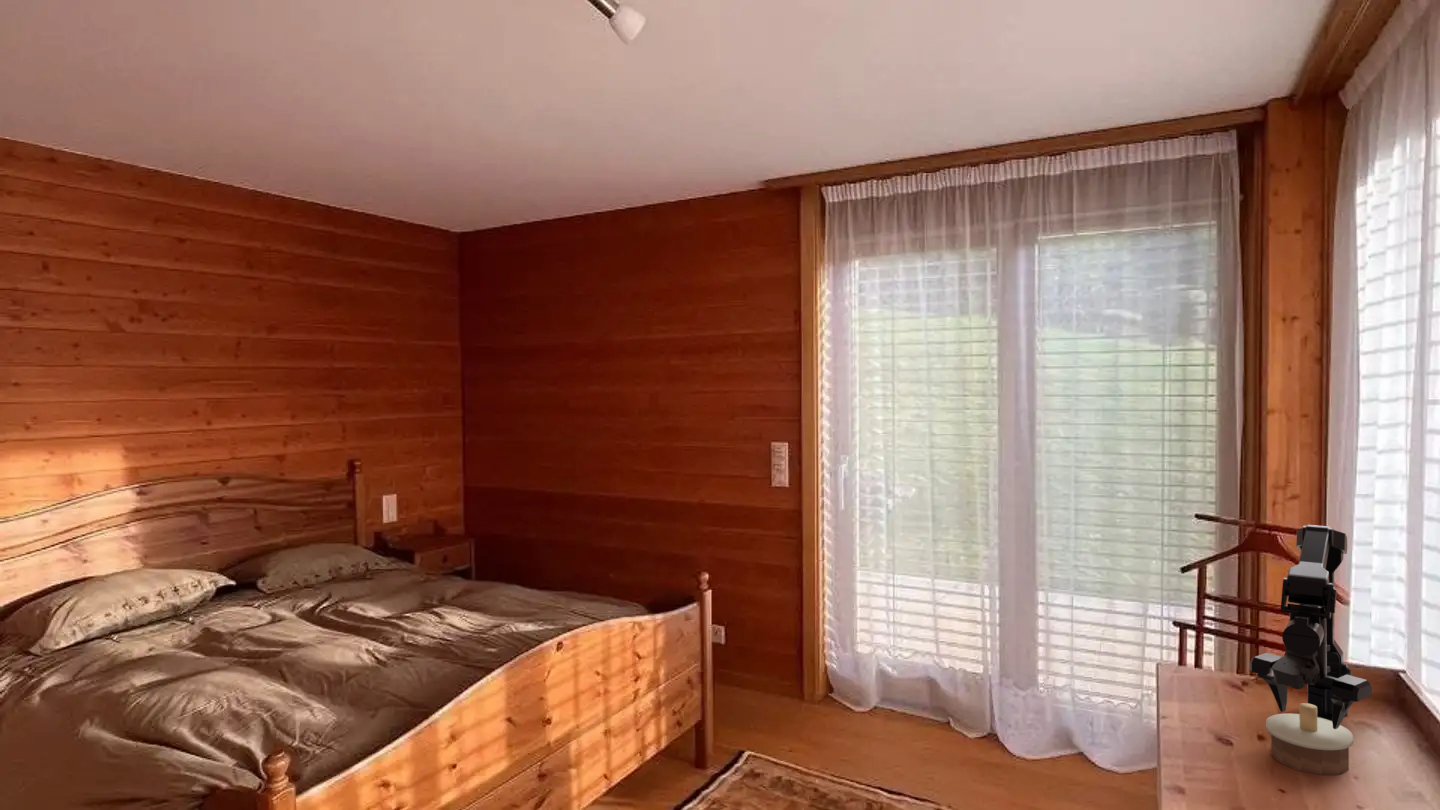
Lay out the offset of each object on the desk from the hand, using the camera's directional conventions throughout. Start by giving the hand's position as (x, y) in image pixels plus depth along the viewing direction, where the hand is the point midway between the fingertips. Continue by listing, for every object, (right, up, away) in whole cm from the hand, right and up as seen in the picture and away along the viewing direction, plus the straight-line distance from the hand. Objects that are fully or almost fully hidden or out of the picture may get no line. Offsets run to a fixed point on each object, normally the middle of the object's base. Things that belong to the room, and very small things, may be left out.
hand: (1308, 719), depth 161 cm
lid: (0, -4, 0) cm, 4 cm away
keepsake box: (0, -8, 0) cm, 8 cm away
